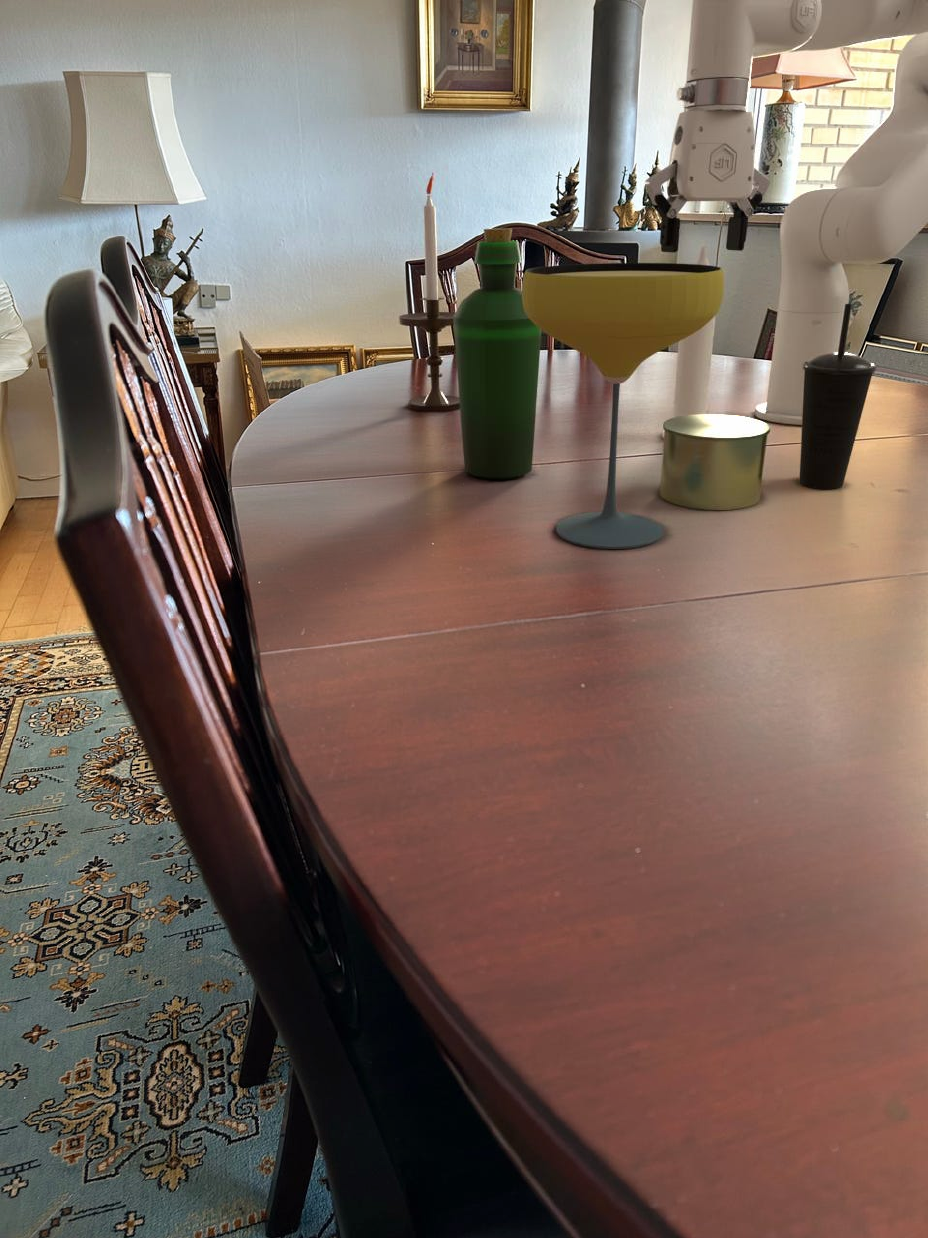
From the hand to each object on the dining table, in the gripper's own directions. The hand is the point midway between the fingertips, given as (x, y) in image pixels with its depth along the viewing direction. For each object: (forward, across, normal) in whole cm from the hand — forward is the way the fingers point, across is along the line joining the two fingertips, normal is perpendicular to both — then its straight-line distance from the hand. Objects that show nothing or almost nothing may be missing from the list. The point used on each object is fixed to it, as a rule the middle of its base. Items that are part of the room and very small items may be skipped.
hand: (702, 250), depth 116 cm
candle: (+25, 0, 0) cm, 25 cm away
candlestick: (+25, -26, +35) cm, 50 cm away
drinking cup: (+25, +3, -26) cm, 36 cm away
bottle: (+25, -30, -7) cm, 40 cm away
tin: (+25, -12, -25) cm, 37 cm away
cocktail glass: (+25, -28, -32) cm, 49 cm away
